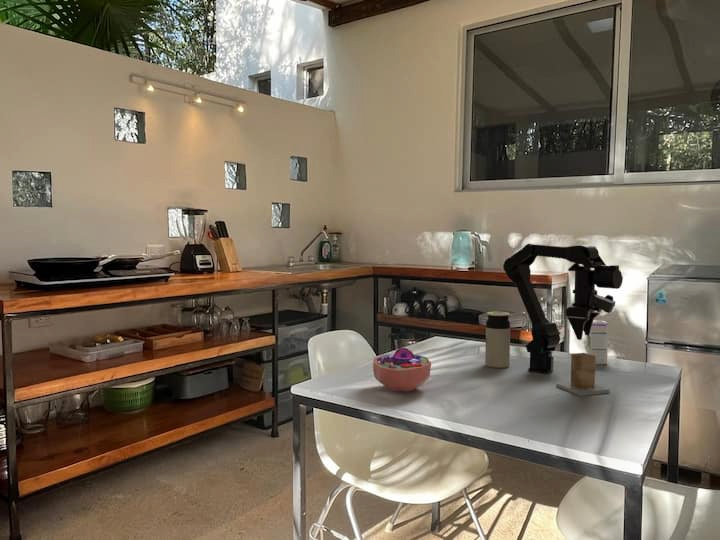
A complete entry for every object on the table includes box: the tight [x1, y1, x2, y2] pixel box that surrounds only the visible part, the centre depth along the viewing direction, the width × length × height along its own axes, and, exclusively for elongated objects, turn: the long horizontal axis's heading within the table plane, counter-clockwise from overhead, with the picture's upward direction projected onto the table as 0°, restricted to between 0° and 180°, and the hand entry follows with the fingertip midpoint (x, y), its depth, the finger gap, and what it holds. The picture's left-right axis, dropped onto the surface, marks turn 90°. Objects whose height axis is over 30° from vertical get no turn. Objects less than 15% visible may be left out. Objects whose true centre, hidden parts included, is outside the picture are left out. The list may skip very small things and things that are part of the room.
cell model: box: [372, 347, 432, 393], centre depth 157 cm, size 17×20×11 cm
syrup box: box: [586, 319, 609, 365], centre depth 192 cm, size 6×6×14 cm
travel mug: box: [484, 311, 511, 369], centre depth 186 cm, size 8×8×18 cm
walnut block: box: [570, 352, 596, 389], centre depth 157 cm, size 4×4×9 cm
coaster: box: [555, 381, 611, 397], centre depth 157 cm, size 10×10×1 cm
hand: (583, 337), depth 168 cm, fingers open, 9 cm apart
